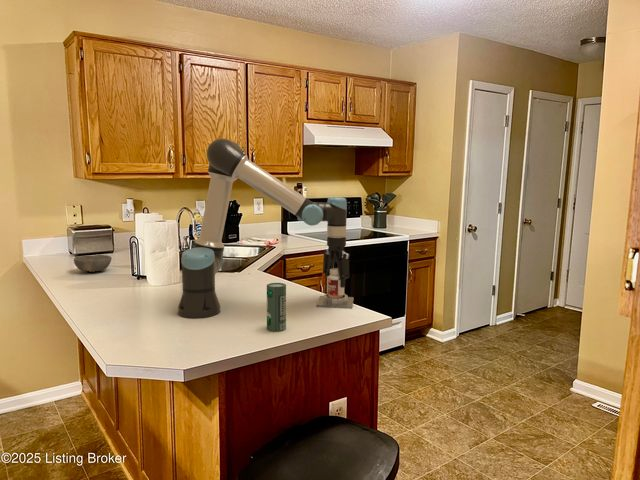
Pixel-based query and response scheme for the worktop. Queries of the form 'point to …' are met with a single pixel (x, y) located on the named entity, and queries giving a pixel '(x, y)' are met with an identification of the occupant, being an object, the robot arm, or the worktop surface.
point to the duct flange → (335, 302)
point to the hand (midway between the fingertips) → (335, 293)
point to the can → (276, 307)
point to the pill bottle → (333, 283)
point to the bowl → (92, 262)
